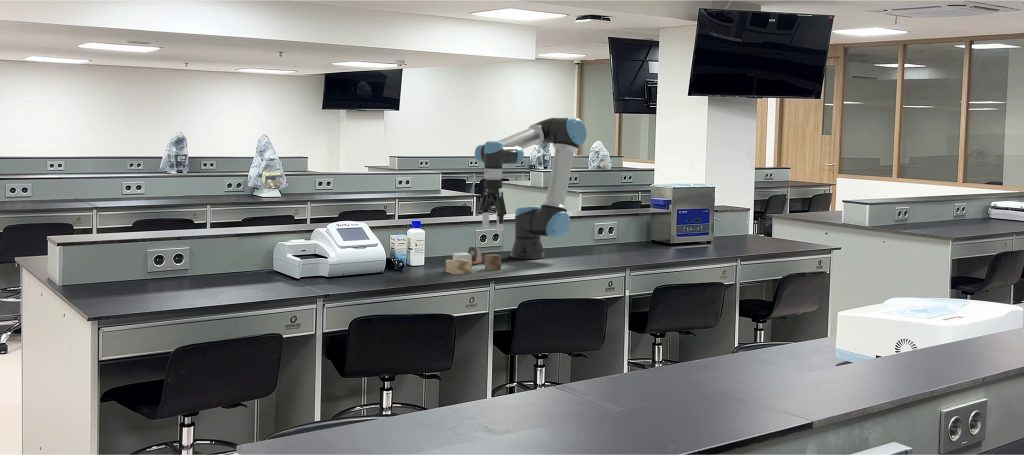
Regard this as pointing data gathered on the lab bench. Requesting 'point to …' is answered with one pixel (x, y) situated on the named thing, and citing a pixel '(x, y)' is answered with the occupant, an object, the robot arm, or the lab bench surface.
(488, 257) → the walnut block
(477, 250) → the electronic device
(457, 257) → the grey cube
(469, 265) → the oak base
